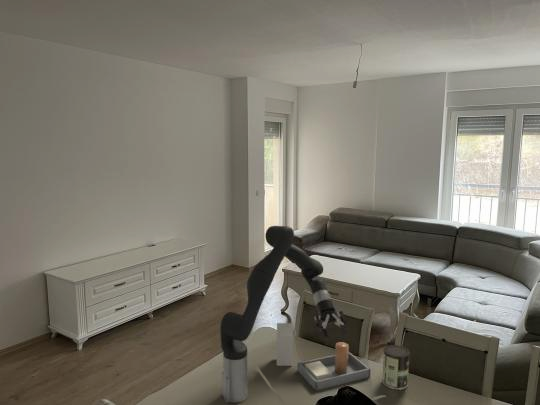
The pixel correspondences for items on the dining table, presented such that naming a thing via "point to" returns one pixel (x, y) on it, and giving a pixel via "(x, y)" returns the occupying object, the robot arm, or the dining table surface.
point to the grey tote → (354, 372)
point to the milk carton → (284, 344)
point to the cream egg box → (318, 370)
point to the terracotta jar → (341, 358)
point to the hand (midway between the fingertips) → (336, 336)
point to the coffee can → (395, 367)
